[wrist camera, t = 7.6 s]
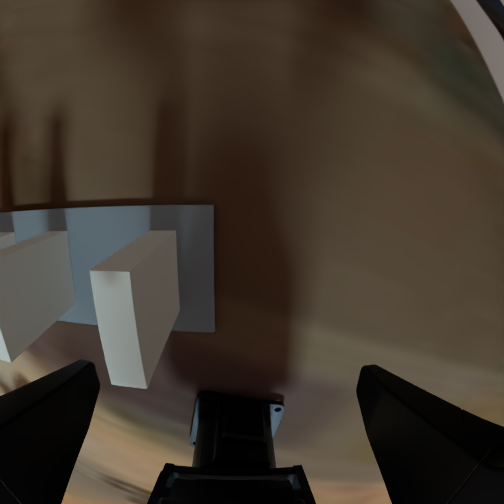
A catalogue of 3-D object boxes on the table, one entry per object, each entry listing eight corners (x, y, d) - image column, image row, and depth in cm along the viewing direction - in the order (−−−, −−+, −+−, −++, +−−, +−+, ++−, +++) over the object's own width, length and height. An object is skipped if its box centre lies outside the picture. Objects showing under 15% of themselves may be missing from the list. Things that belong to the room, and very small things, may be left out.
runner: (214, 204, 18) (213, 205, 17) (215, 329, 20) (214, 332, 19) (-72, 220, 17) (-75, 220, 16) (-60, 296, 19) (-62, 297, 18)
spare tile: (176, 230, 18) (129, 271, 10) (180, 309, 19) (147, 389, 11) (150, 230, 18) (89, 270, 10) (155, 308, 19) (112, 384, 11)
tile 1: (67, 231, 17) (-15, 264, 10) (76, 303, 19) (11, 362, 11) (48, 231, 17) (-33, 263, 10) (58, 301, 19) (-8, 356, 11)
